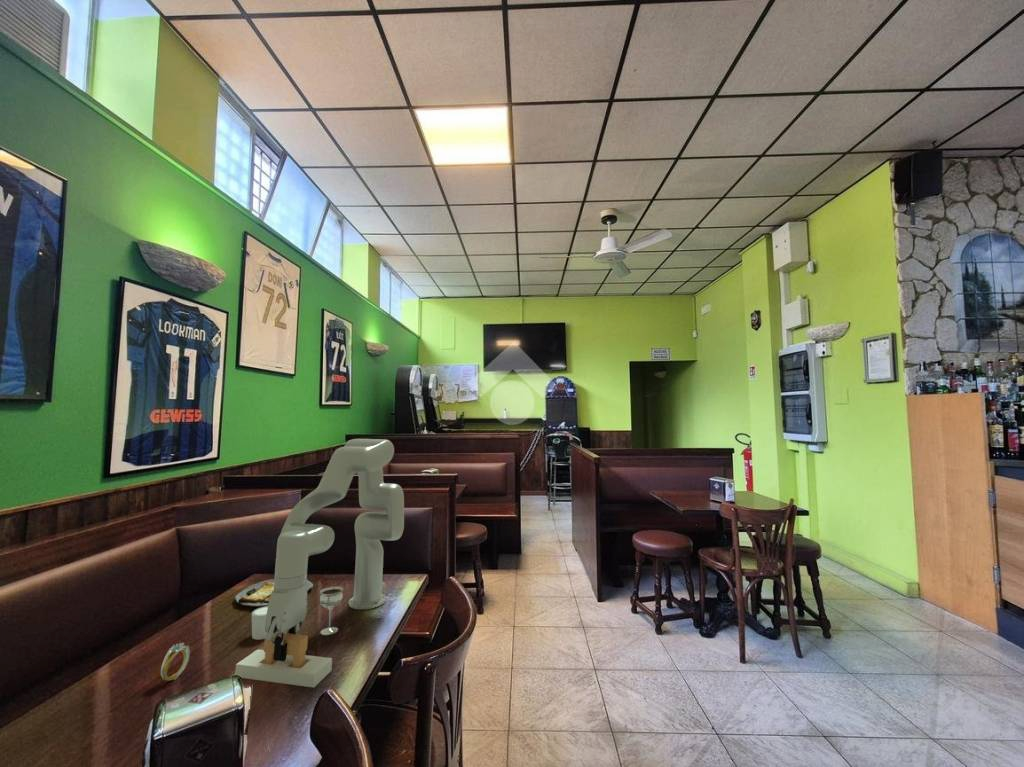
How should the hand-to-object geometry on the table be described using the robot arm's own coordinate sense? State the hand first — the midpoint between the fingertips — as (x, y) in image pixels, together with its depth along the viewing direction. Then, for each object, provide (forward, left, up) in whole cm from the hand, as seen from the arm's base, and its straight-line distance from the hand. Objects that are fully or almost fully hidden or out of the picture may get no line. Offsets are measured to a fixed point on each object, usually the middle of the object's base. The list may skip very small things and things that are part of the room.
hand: (285, 655), depth 103 cm
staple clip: (0, 0, -3) cm, 3 cm away
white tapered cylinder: (-16, -20, -5) cm, 26 cm away
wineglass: (-22, -2, -5) cm, 23 cm away
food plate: (-42, -38, -5) cm, 56 cm away
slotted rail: (0, 0, -4) cm, 4 cm away
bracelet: (+7, -25, -5) cm, 26 cm away
